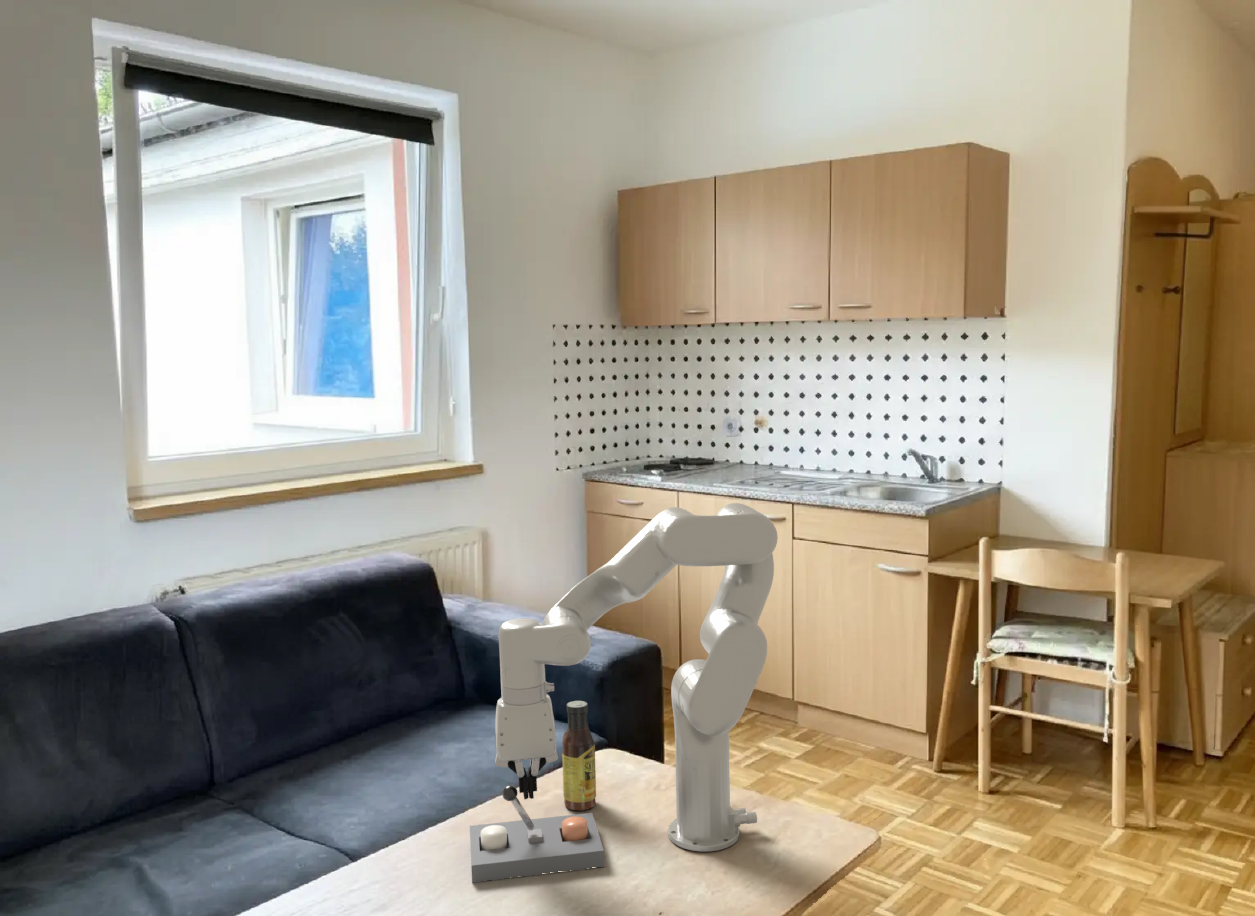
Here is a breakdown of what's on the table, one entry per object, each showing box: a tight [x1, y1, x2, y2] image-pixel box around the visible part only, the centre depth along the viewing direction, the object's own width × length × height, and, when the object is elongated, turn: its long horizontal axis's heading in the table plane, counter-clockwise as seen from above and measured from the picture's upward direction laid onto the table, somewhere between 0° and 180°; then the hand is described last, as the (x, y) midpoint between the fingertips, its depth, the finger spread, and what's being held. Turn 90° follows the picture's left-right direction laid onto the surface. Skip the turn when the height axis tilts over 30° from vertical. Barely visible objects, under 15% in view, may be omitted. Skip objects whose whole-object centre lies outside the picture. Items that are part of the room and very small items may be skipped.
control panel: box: [469, 812, 605, 884], centre depth 174 cm, size 22×14×4 cm, turn 100°
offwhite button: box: [481, 825, 507, 851], centre depth 172 cm, size 4×4×4 cm
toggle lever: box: [501, 784, 535, 831], centre depth 172 cm, size 3×3×9 cm
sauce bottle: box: [561, 700, 597, 812], centre depth 191 cm, size 6×6×20 cm
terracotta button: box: [562, 817, 588, 842], centre depth 175 cm, size 4×4×4 cm
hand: (528, 795), depth 172 cm, fingers closed
